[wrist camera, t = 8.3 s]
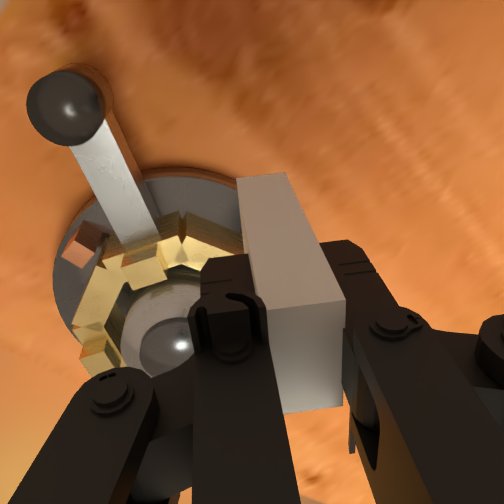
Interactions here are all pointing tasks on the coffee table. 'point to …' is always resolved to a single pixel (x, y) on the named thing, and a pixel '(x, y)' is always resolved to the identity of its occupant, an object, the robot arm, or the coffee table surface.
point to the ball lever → (117, 209)
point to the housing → (158, 294)
